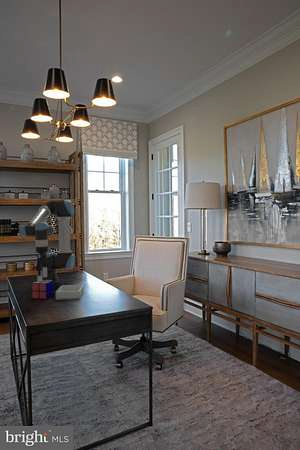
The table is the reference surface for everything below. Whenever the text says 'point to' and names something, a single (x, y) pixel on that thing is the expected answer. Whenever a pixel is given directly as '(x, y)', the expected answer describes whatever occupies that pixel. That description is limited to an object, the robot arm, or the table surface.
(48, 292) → the puzzle cube
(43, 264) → the robot arm
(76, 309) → the table surface
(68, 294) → the bin
